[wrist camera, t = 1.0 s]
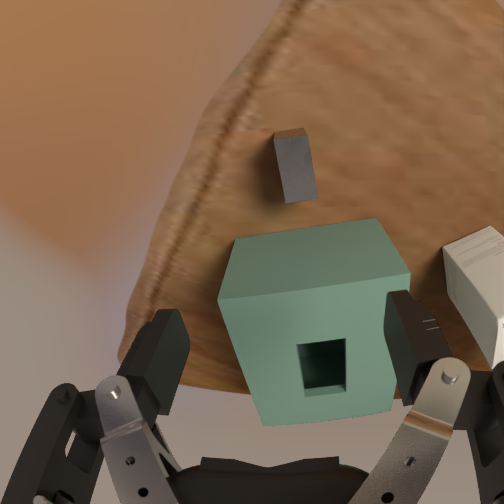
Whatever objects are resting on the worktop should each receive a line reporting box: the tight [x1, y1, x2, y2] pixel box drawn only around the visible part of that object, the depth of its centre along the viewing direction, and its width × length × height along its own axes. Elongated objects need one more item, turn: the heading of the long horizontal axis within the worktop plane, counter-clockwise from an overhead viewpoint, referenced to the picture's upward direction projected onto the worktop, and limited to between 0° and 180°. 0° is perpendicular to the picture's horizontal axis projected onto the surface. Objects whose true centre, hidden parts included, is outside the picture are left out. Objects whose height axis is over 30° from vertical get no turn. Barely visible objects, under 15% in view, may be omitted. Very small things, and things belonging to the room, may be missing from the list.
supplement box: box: [442, 226, 504, 369], centre depth 24 cm, size 7×7×13 cm
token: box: [273, 128, 318, 204], centre depth 25 cm, size 2×5×5 cm, turn 12°
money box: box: [217, 218, 411, 426], centre depth 30 cm, size 14×18×10 cm
